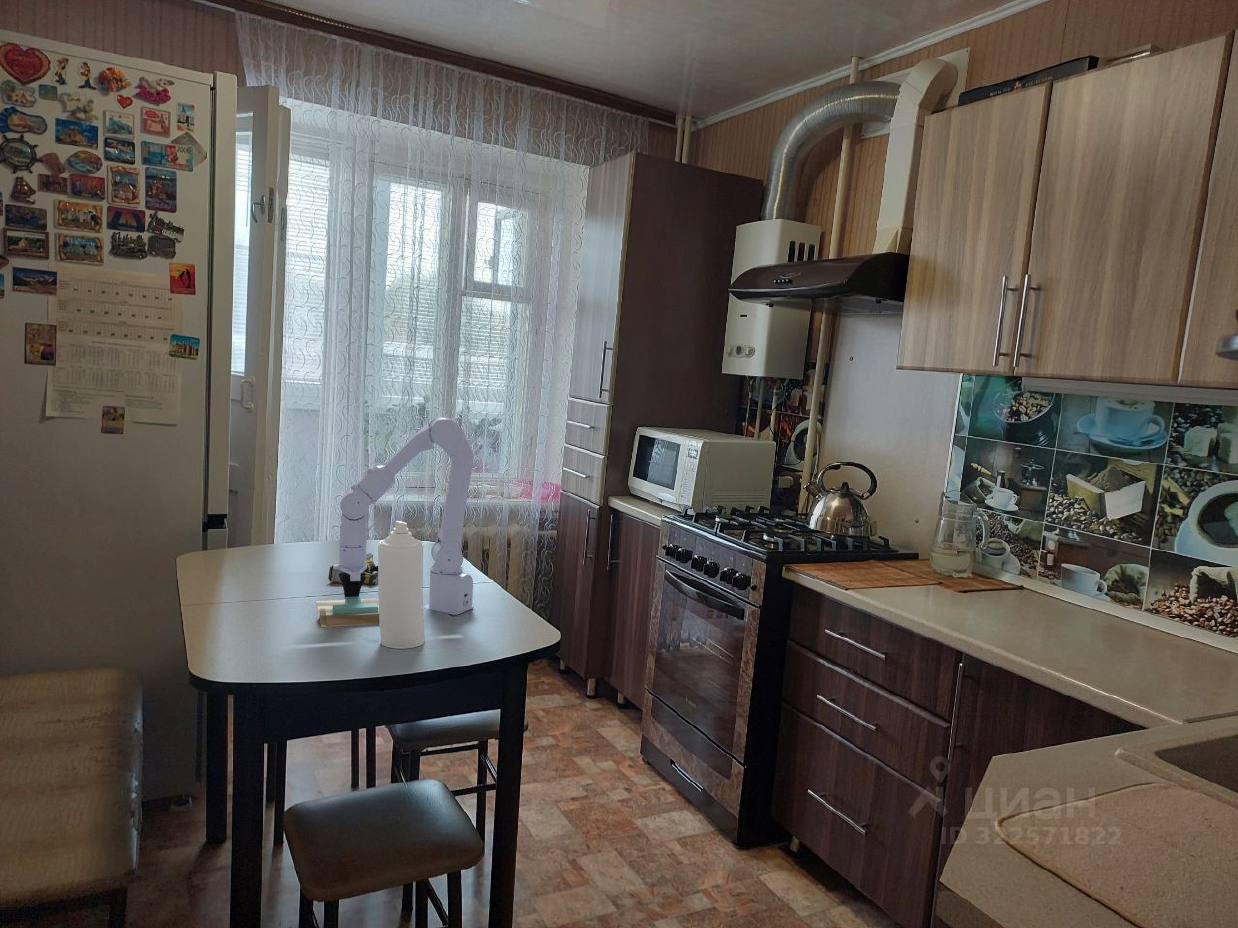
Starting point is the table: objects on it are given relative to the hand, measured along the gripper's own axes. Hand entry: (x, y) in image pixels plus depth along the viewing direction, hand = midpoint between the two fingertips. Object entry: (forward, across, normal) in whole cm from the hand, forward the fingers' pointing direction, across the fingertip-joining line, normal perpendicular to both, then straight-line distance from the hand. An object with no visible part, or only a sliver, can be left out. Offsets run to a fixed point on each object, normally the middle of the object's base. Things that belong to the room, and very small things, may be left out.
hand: (351, 605), depth 182 cm
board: (+1, +3, 0) cm, 3 cm away
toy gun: (+2, -32, +8) cm, 33 cm away
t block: (+1, +6, 0) cm, 6 cm away
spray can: (+2, +25, +7) cm, 26 cm away
